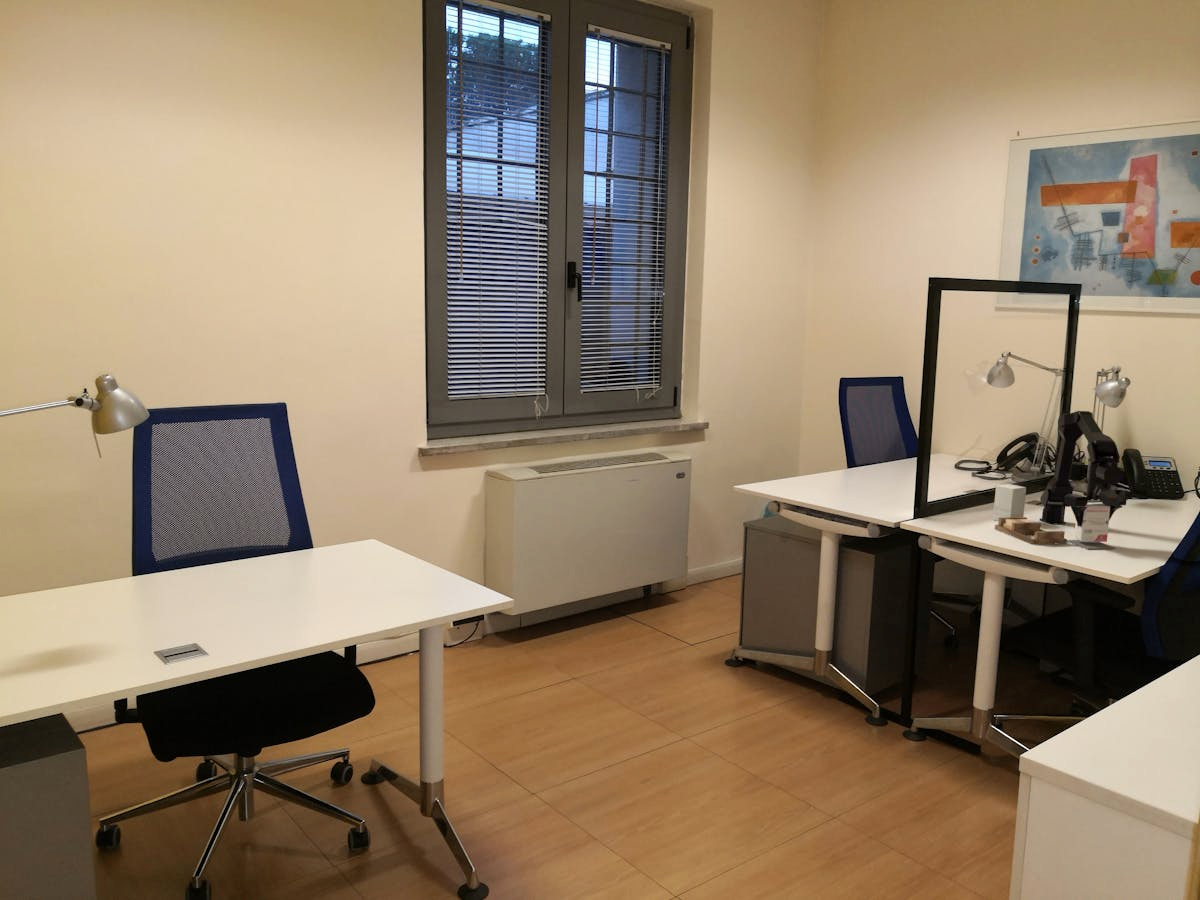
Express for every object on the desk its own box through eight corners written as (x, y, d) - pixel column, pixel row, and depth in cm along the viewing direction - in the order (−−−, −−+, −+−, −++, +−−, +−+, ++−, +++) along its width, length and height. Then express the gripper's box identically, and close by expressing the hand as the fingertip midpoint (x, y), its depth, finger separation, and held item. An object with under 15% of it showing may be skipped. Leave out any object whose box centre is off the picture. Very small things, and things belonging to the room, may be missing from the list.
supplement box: (1023, 522, 343) (1027, 487, 341) (1009, 524, 340) (1013, 488, 338) (1005, 518, 350) (1009, 483, 348) (991, 519, 346) (995, 484, 344)
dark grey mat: (1092, 540, 320) (1092, 539, 320) (1114, 549, 311) (1114, 547, 311) (1066, 541, 318) (1066, 540, 318) (1087, 549, 309) (1087, 548, 309)
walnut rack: (1026, 528, 335) (1028, 516, 334) (1066, 543, 315) (1067, 531, 315) (994, 529, 332) (995, 517, 331) (1032, 544, 313) (1034, 532, 312)
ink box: (1099, 538, 317) (1103, 502, 315) (1107, 542, 312) (1111, 505, 310) (1072, 537, 317) (1076, 501, 315) (1080, 541, 312) (1084, 505, 310)
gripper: (1090, 483, 301) (1084, 533, 304) (1142, 483, 305) (1135, 531, 308) (1066, 476, 312) (1060, 524, 314) (1116, 476, 316) (1110, 522, 319)
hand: (1092, 525), depth 314 cm, fingers closed on ink box, 9 cm apart
